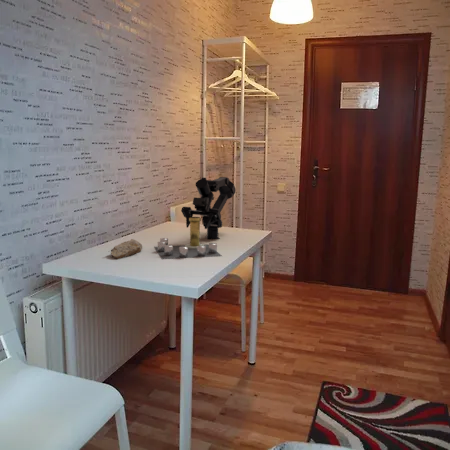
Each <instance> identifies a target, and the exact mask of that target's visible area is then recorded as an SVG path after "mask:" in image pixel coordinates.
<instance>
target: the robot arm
mask: <svg viewBox="0 0 450 450" xmlns="http://www.w3.org/2000/svg"><path fill="white" fill-rule="evenodd" d="M195 187H196V190H197V192H198V194H199V195H200V197H193V198H192V199H193V200H192V206H193V205H194V209H192V208H191V206H182V208H181V210H180V211H181V213H182V216H183V217H184V218H185V221H186V222H185V223H186V224H185V225H186V228H190V227H189V226H190V221H189V217H194V215H197V216H202V225H203V227H204V230H206V236H204V238H206V239H207V240H220V239H221V237H219V229H221V228H223V220H222V214H221V213H222V210H223V209H224V207H225V205H226V203H227V201H228V200H229V199H231V198H233V197H234V195H235V194H236V190H237V189H236V187H235V184H234V182H232V181H231V180H230V179H229V177H227V176H220V177H218V178H216V179H212V180H211V179H207V177H201V178H200V179H198V180H197V181H196V182H195ZM217 192H219V195H218V197H217V198H216V200H215V202H214V203H213V205H212V206H211V204H212V202H213V200H214V199H215V198H214V193H217Z"/></svg>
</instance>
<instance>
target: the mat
mask: <svg viewBox="0 0 450 450" xmlns="http://www.w3.org/2000/svg"><path fill="white" fill-rule="evenodd" d="M185 245H186V244H185ZM185 245H184V244H183V245H173V255H172V256H165V255H164V252H158V246H154V247H153V248H154V250H155V251H156V253H157V255H158V256H159V257H160V259H161V260H172V259H173V260H174V259H177V260H178V259H182V258H181V257H179V247H185ZM203 245H204V246H206V254H205V256H203V257H202V258H213V257H217V258H218V257H223V255H222V254H221V253H220V252H218V251H217V253H215V254H211V253H209V243H208V244H203ZM195 258H198V259H199V258H201V257H200V256H197V249H190V248H188V257H186V258H185V259H195Z"/></svg>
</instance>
